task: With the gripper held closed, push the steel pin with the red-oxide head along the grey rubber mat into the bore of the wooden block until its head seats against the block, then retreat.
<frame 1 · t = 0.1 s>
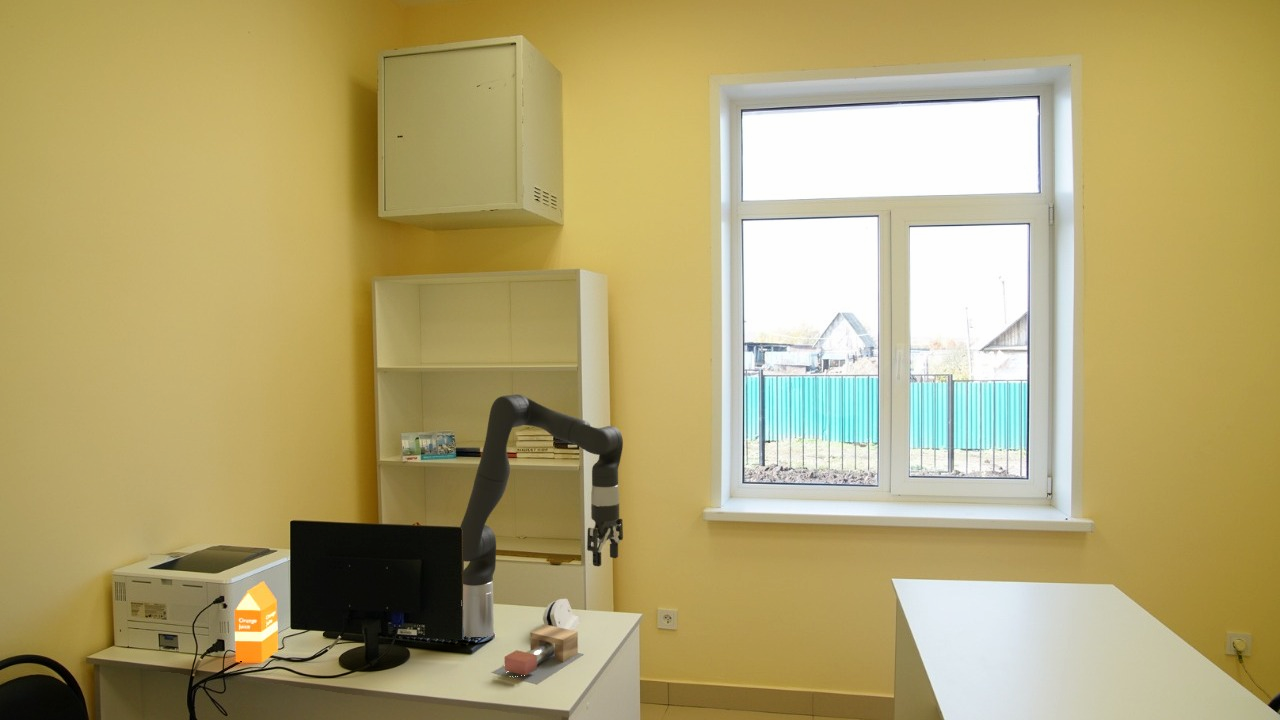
hand: (605, 561, 218), 29 cm above the table, tool pointing down, fingers open, 8 cm apart
wooden block: (554, 654, 229), resting on mat
mat: (539, 663, 223), on the table
orange juice: (257, 656, 229), on the table
white rounded piece: (560, 631, 247), on the table
pin: (532, 657, 220), point 3 cm above the table, slide at 0.0 cm
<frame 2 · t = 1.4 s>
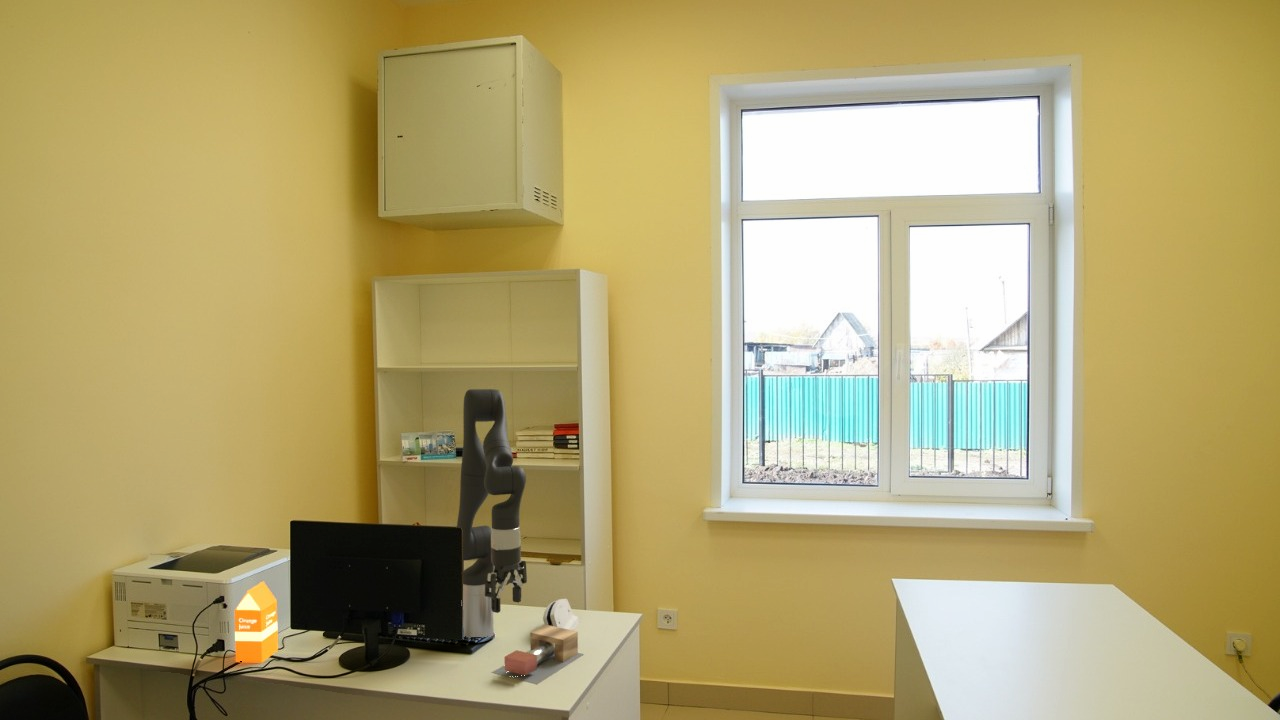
hand: (506, 606, 209), 20 cm above the table, tool pointing down, fingers open, 8 cm apart
nothing on the table moved.
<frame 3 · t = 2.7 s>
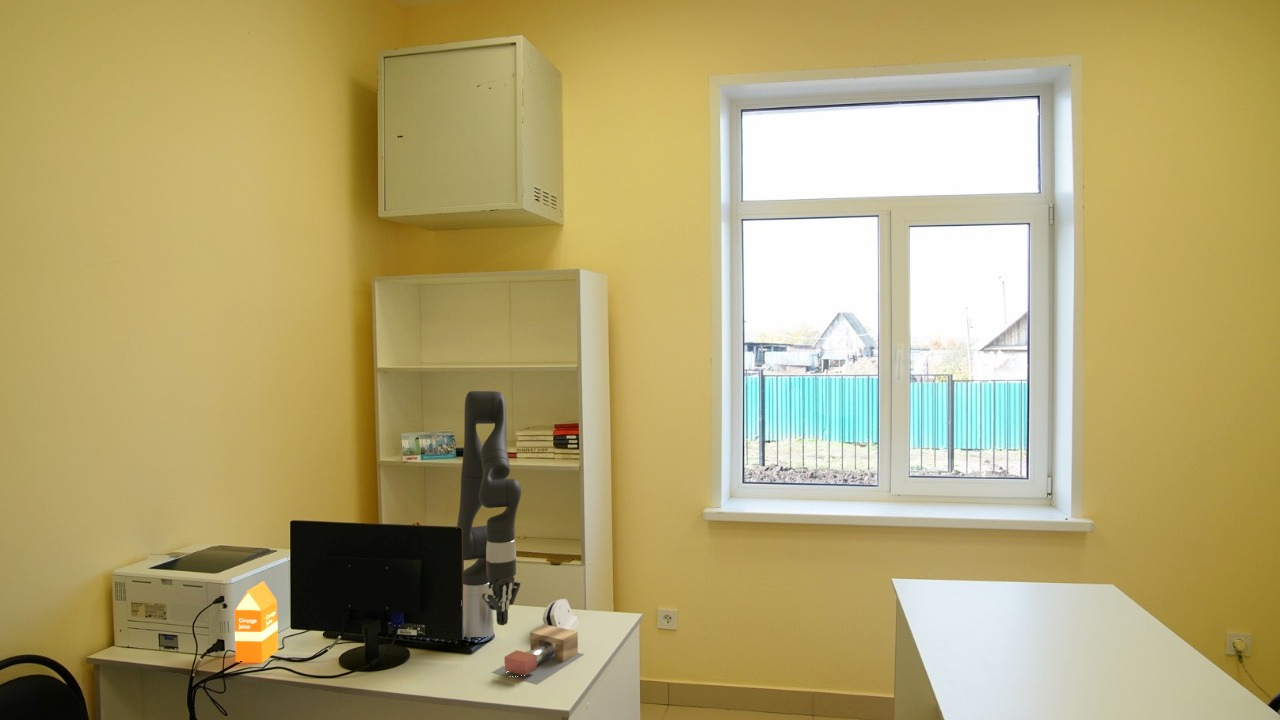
hand: (502, 624, 208), 16 cm above the table, tool pointing down, fingers closed
nothing on the table moved.
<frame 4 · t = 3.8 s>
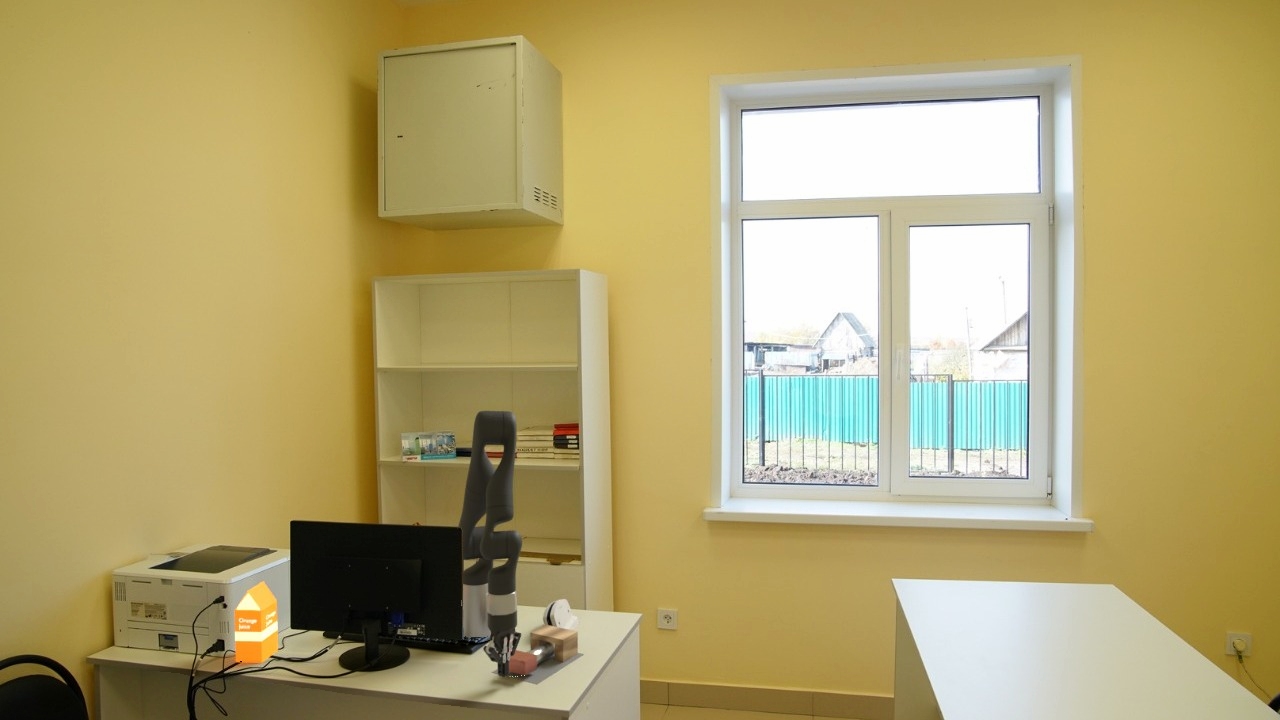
hand: (503, 675, 209), 3 cm above the table, tool pointing down, fingers closed
nothing on the table moved.
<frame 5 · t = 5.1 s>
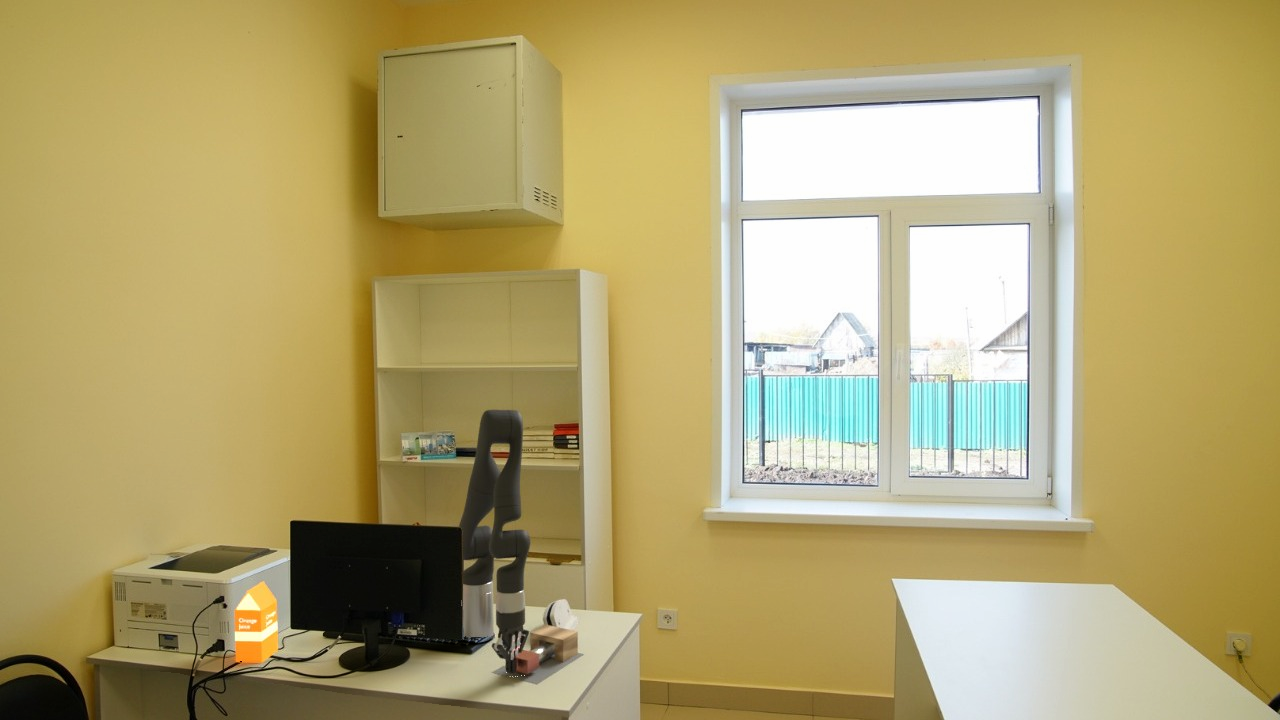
hand: (511, 672, 212), 2 cm above the table, tool pointing down, fingers closed
pin: (534, 656, 221), point 3 cm above the table, slide at 1.1 cm, touching gripper
everything else where it was.
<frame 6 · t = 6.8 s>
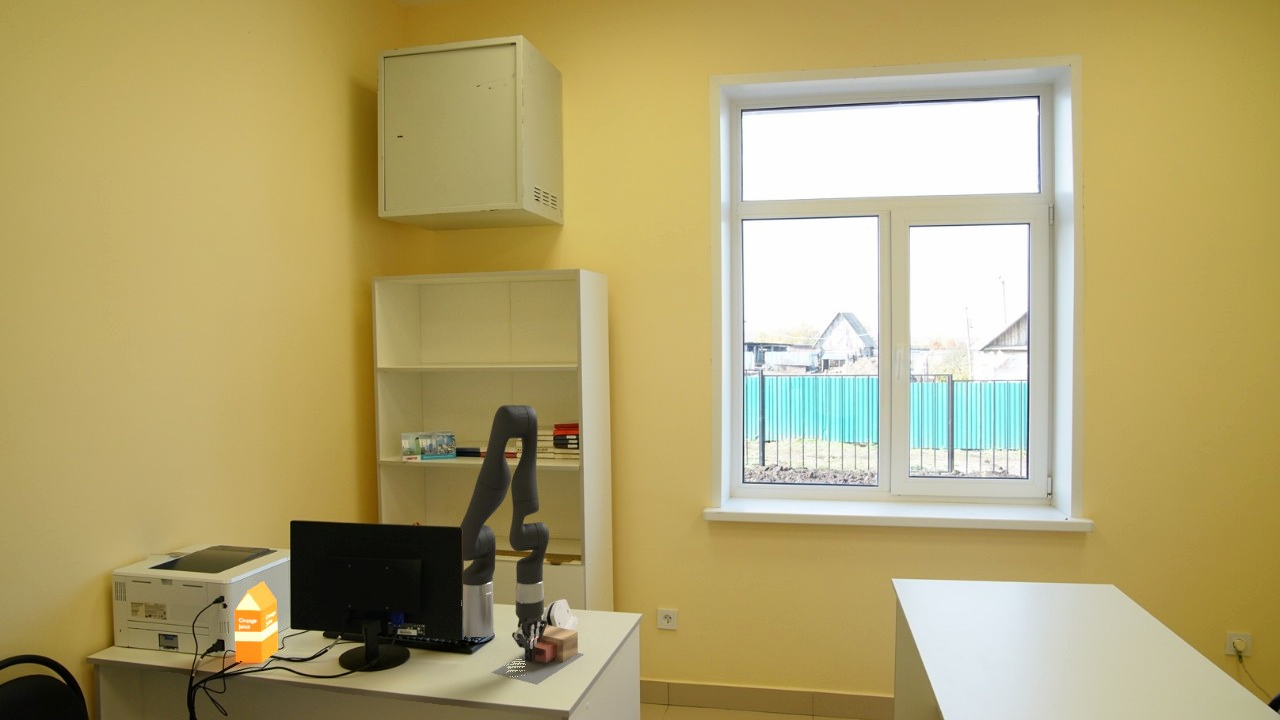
hand: (530, 660, 219), 2 cm above the table, tool pointing down, fingers closed
pin: (552, 646, 228), point 3 cm above the table, slide at 9.1 cm, touching wooden block, gripper
everything else where it was.
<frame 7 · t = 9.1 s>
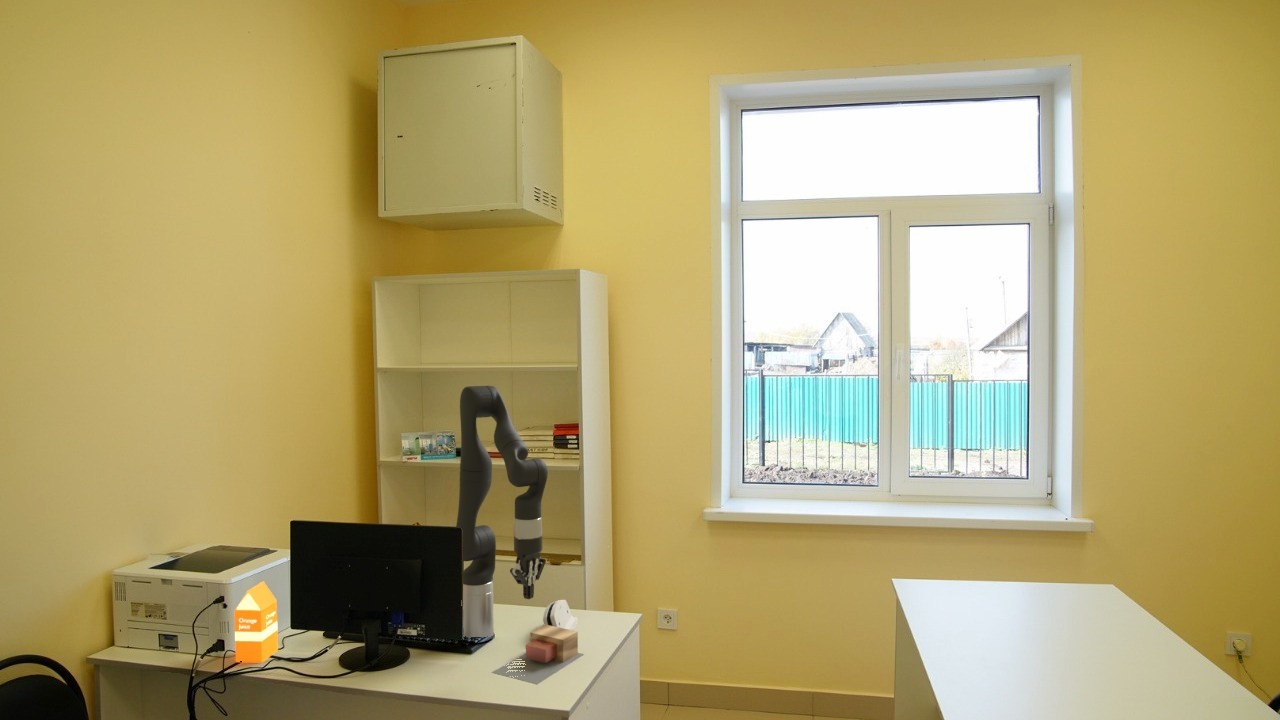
hand: (528, 598, 217), 20 cm above the table, tool pointing down, fingers closed
pin: (552, 646, 228), point 3 cm above the table, slide at 9.1 cm, touching wooden block
everything else where it was.
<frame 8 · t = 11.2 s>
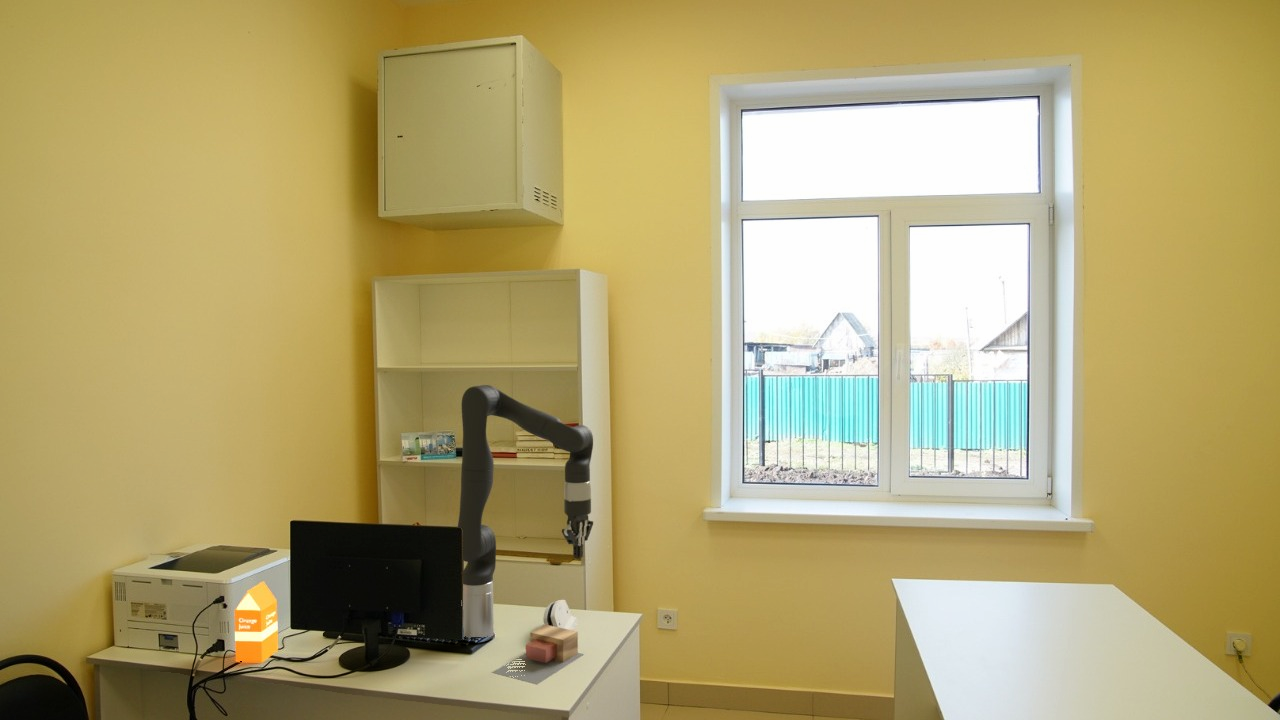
hand: (578, 557, 229), 27 cm above the table, tool pointing down, fingers closed
at the end: pin slide at 9.1 cm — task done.
